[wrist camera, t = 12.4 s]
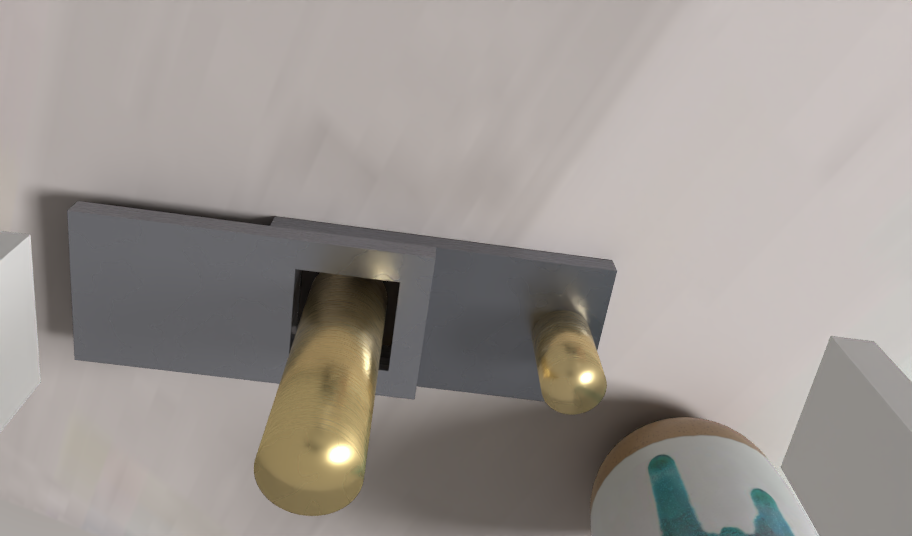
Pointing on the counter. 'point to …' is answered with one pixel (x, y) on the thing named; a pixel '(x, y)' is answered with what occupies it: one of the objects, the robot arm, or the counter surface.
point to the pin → (325, 399)
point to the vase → (692, 485)
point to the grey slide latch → (344, 253)
